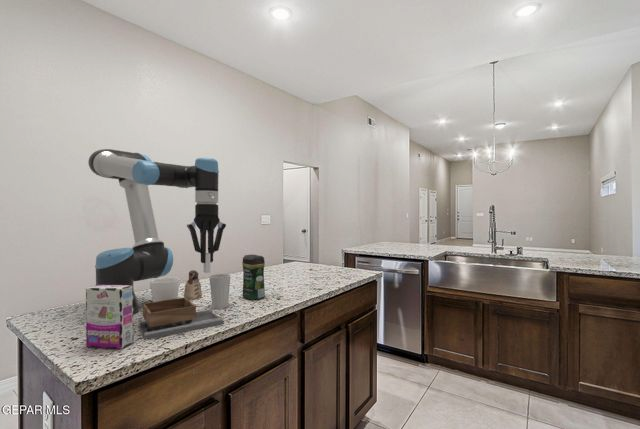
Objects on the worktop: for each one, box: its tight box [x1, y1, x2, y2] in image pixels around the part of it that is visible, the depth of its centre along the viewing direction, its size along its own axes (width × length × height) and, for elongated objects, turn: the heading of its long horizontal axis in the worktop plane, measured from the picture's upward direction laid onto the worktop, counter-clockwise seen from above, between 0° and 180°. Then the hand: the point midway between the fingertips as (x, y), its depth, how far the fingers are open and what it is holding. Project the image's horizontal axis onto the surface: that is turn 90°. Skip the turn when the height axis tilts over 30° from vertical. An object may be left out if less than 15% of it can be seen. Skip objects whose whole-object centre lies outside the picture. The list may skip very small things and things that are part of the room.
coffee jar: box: [241, 254, 266, 301], centre depth 141 cm, size 10×8×19 cm
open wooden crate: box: [142, 297, 197, 330], centre depth 105 cm, size 13×13×5 cm
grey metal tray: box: [138, 308, 225, 341], centre depth 107 cm, size 14×23×2 cm, turn 126°
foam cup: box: [149, 277, 181, 302], centre depth 116 cm, size 10×9×13 cm
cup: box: [208, 273, 231, 310], centre depth 128 cm, size 8×8×12 cm
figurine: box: [183, 269, 203, 301], centre depth 142 cm, size 7×7×12 cm
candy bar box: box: [85, 284, 135, 350], centre depth 91 cm, size 11×5×16 cm, turn 81°
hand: (206, 272), depth 113 cm, fingers closed
